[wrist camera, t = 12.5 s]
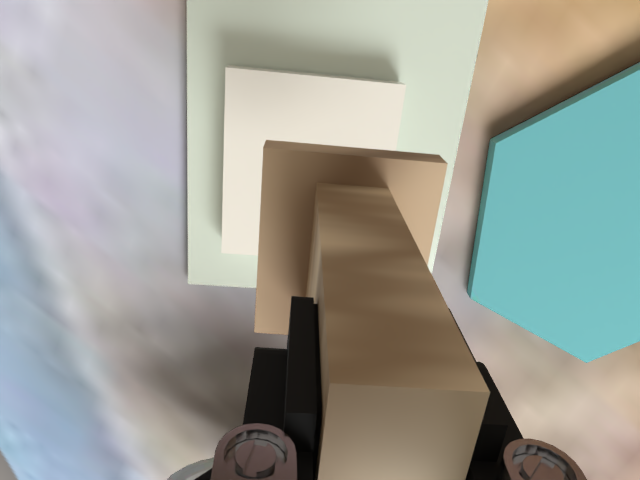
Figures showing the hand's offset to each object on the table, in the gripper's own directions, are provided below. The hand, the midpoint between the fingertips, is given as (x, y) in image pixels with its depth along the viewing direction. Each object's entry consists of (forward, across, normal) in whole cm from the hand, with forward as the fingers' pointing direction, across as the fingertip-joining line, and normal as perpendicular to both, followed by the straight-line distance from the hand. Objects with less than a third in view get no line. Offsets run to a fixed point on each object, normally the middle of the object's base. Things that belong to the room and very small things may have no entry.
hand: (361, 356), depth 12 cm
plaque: (+19, -18, +2) cm, 27 cm away
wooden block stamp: (+7, 0, 0) cm, 7 cm away
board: (+18, 0, -1) cm, 18 cm away
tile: (+17, -3, 0) cm, 17 cm away
